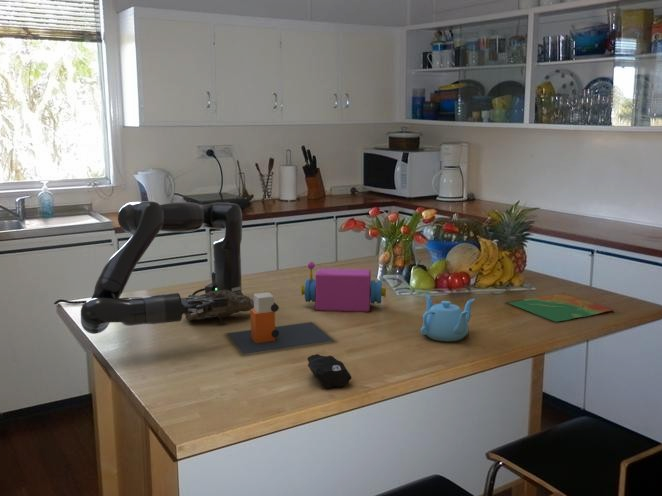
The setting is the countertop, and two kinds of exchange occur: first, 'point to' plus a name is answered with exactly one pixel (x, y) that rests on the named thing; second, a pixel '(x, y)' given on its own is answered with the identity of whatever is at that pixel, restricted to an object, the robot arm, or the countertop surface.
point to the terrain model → (560, 307)
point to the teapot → (445, 320)
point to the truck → (263, 318)
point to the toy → (342, 289)
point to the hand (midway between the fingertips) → (226, 301)
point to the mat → (281, 338)
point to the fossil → (235, 305)
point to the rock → (328, 370)
